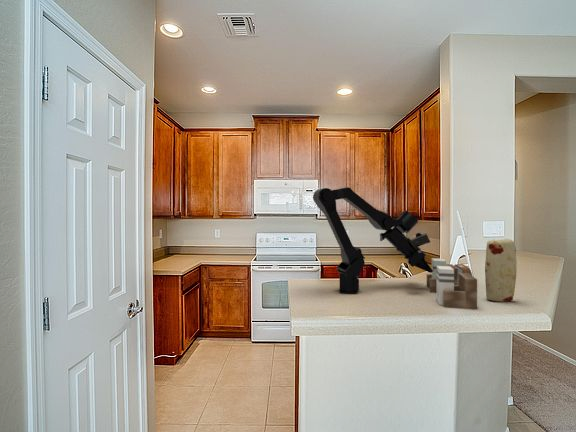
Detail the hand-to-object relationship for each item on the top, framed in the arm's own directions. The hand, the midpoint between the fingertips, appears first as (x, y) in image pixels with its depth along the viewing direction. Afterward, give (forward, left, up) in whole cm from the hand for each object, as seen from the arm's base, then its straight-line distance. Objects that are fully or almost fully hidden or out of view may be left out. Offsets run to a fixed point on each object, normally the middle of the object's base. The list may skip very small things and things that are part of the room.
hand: (431, 271), depth 121 cm
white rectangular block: (0, -18, -6) cm, 19 cm away
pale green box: (+2, 0, -6) cm, 7 cm away
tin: (+12, +7, -7) cm, 16 cm away
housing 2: (+4, -18, -7) cm, 19 cm away
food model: (+18, -11, -7) cm, 22 cm away
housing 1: (+3, 0, -7) cm, 7 cm away
